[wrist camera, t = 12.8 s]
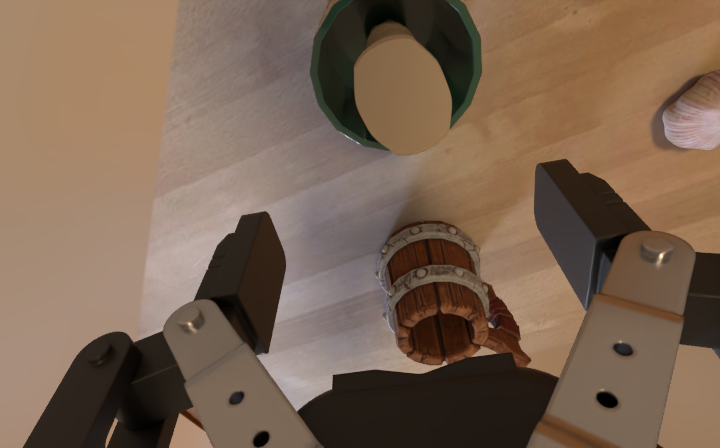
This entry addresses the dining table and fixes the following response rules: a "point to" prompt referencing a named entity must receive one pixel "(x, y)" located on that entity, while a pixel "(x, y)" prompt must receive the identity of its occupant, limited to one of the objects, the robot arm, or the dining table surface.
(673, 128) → the garlic bulb
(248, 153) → the dining table surface
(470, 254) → the mug
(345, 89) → the cup
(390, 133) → the handle
